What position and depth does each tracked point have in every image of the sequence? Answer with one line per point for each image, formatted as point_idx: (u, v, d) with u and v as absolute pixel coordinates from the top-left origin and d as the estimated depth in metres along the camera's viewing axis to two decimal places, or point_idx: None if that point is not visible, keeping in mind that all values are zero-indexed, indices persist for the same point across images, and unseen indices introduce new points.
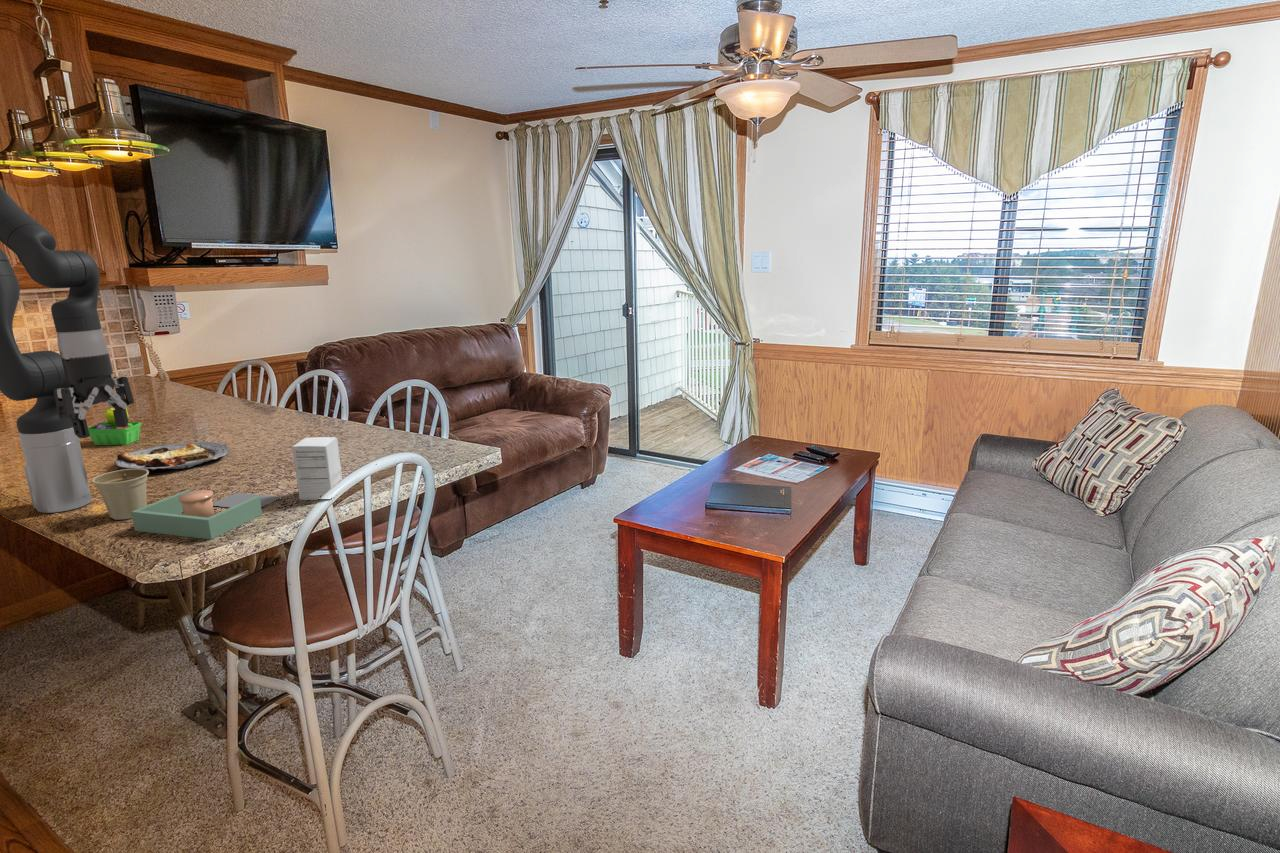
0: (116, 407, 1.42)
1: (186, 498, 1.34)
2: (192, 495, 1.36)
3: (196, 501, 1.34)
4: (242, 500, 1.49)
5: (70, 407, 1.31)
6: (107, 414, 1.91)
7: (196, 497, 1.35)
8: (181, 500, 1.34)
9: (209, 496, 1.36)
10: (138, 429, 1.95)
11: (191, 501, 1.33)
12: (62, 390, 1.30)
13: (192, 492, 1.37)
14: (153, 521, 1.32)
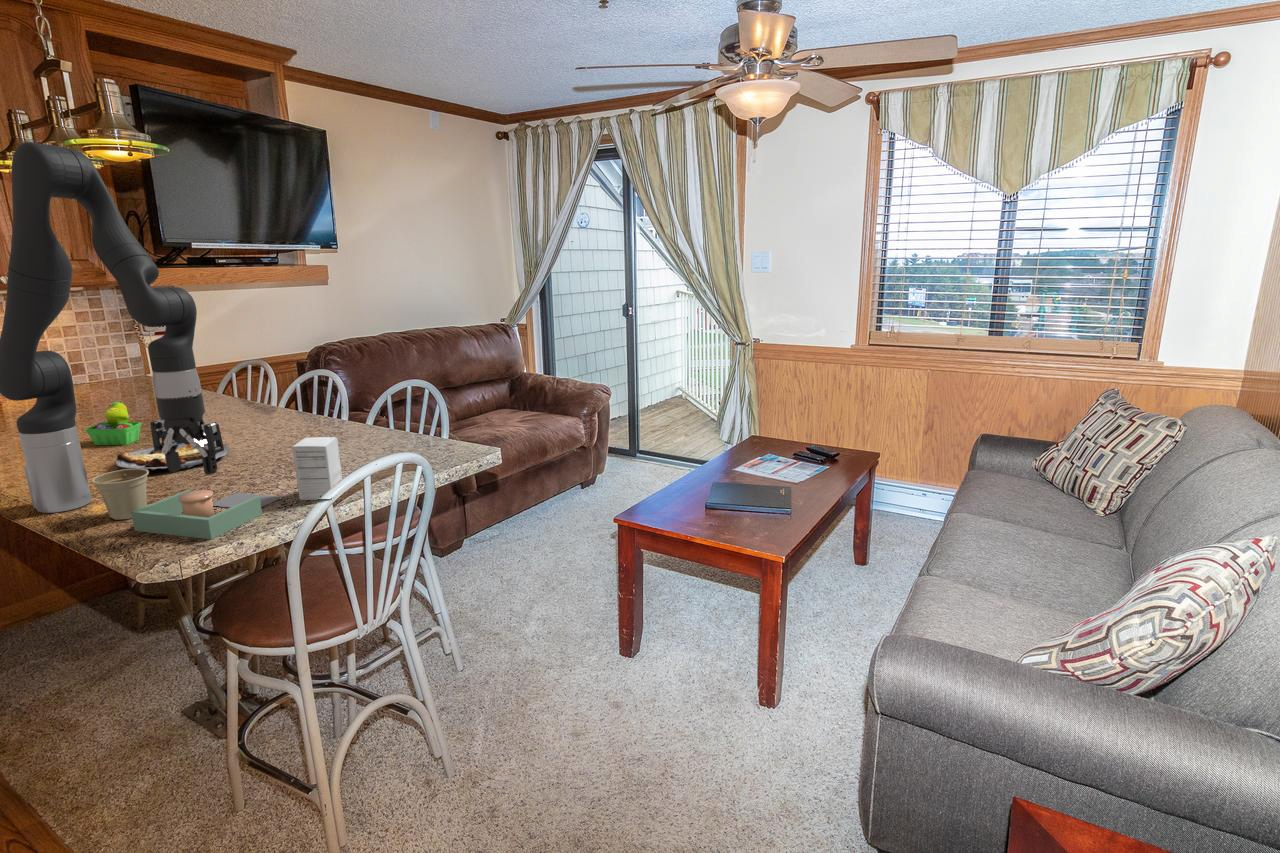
0: (171, 451, 1.34)
1: (186, 498, 1.34)
2: (192, 495, 1.36)
3: (196, 501, 1.34)
4: (242, 500, 1.49)
5: None
6: (107, 414, 1.91)
7: (196, 497, 1.35)
8: (181, 500, 1.34)
9: (209, 496, 1.36)
10: (138, 429, 1.95)
11: (191, 501, 1.33)
12: (216, 423, 1.32)
13: (192, 492, 1.37)
14: (153, 521, 1.32)
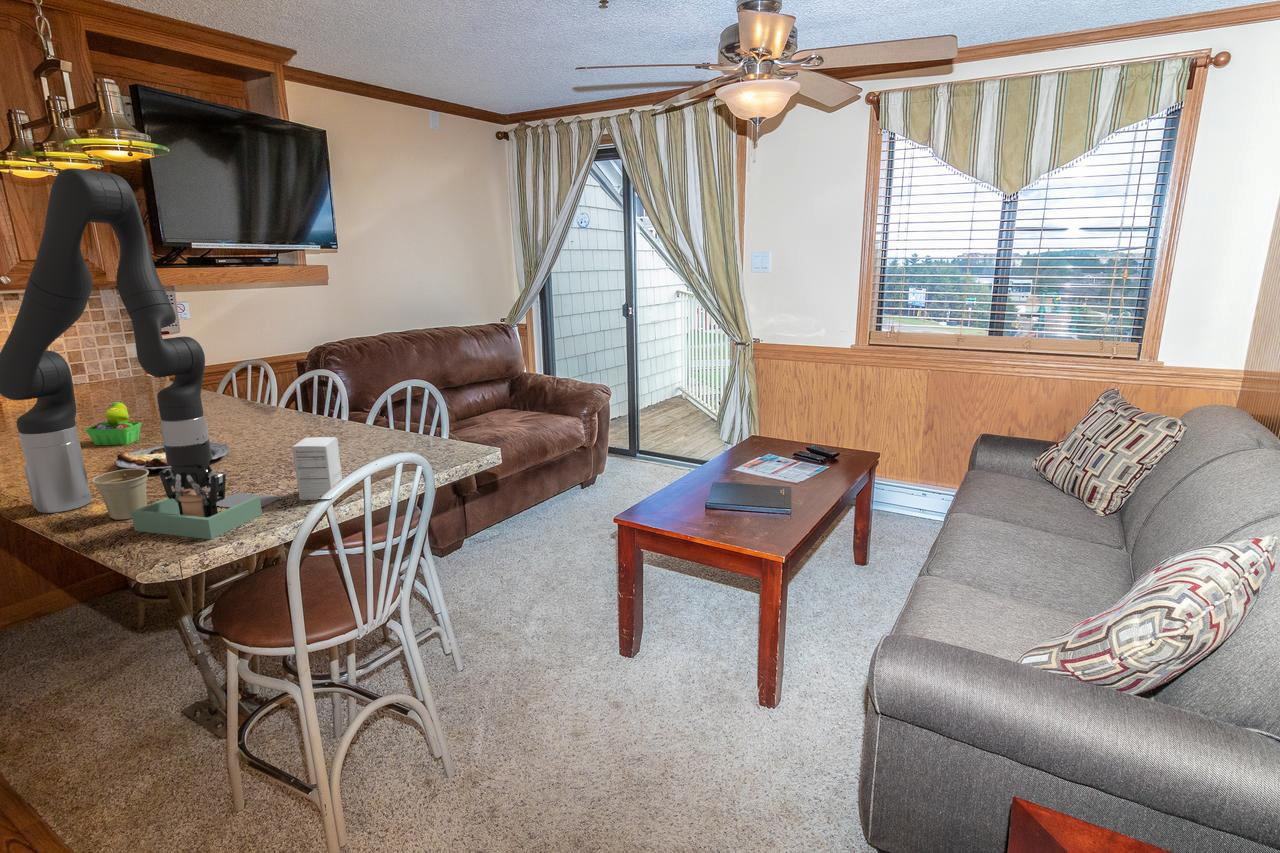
0: None
1: (186, 498, 1.34)
2: (192, 495, 1.36)
3: (196, 501, 1.34)
4: (242, 500, 1.49)
5: None
6: (107, 414, 1.91)
7: (196, 497, 1.35)
8: (181, 500, 1.34)
9: (209, 496, 1.36)
10: (138, 429, 1.95)
11: (191, 501, 1.33)
12: (224, 475, 1.34)
13: (192, 492, 1.37)
14: (153, 521, 1.32)
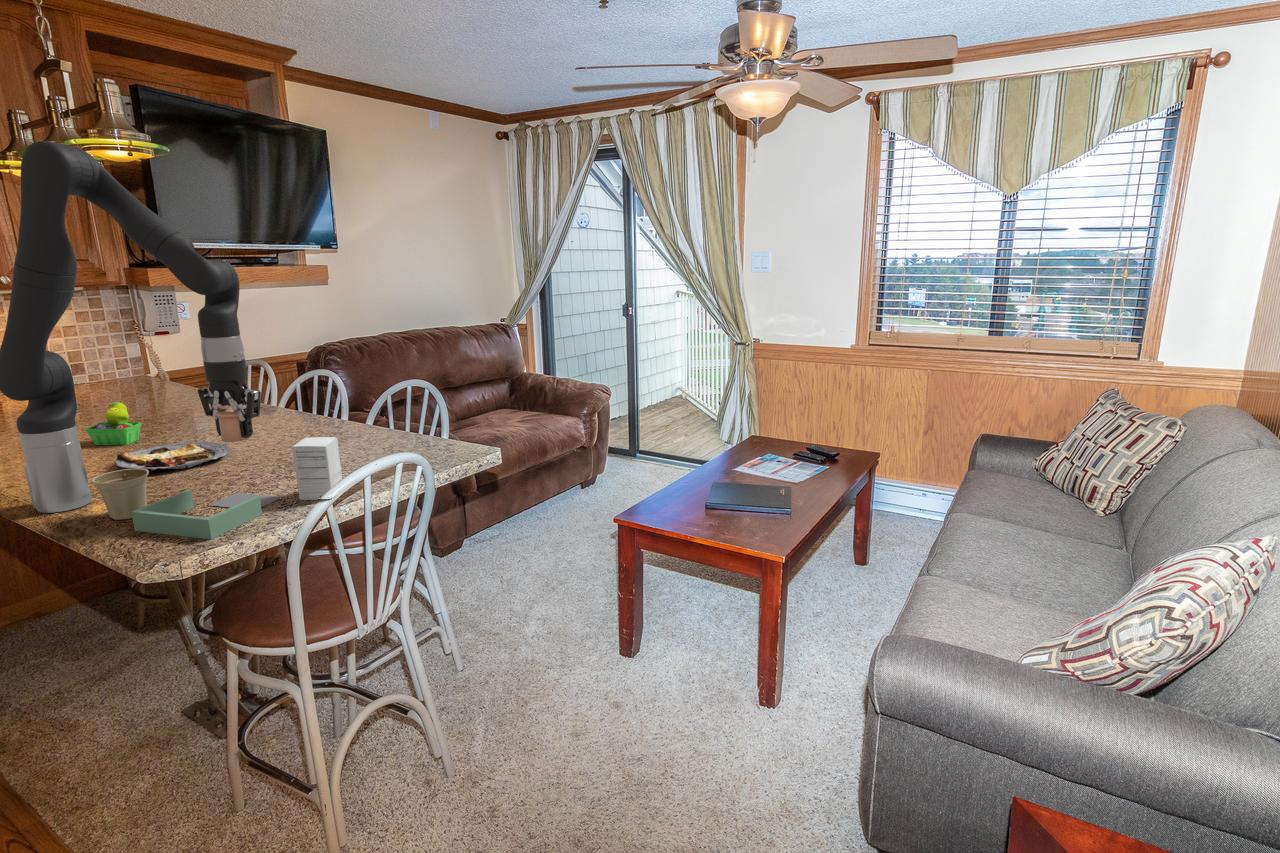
0: None
1: (223, 414, 1.41)
2: (228, 412, 1.43)
3: (233, 416, 1.42)
4: (242, 500, 1.49)
5: None
6: (107, 414, 1.91)
7: (233, 413, 1.42)
8: (219, 415, 1.41)
9: (244, 413, 1.43)
10: (138, 429, 1.95)
11: (228, 416, 1.41)
12: (259, 392, 1.42)
13: (228, 410, 1.45)
14: (153, 521, 1.32)
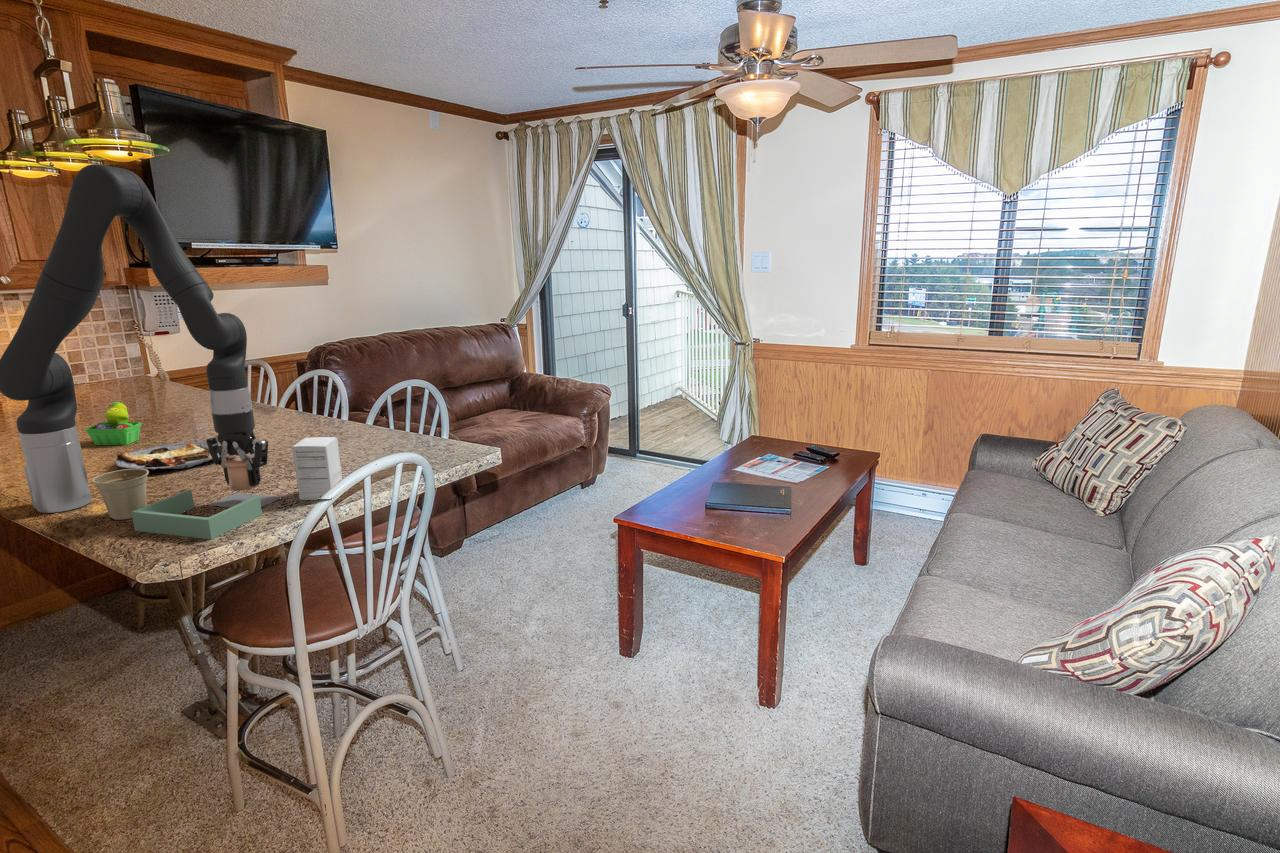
0: None
1: (232, 463, 1.44)
2: (236, 461, 1.46)
3: (241, 466, 1.44)
4: (242, 500, 1.49)
5: None
6: (107, 414, 1.91)
7: (241, 462, 1.45)
8: (227, 465, 1.44)
9: (252, 462, 1.46)
10: (138, 429, 1.95)
11: (236, 466, 1.44)
12: (267, 442, 1.45)
13: (236, 458, 1.48)
14: (153, 521, 1.32)
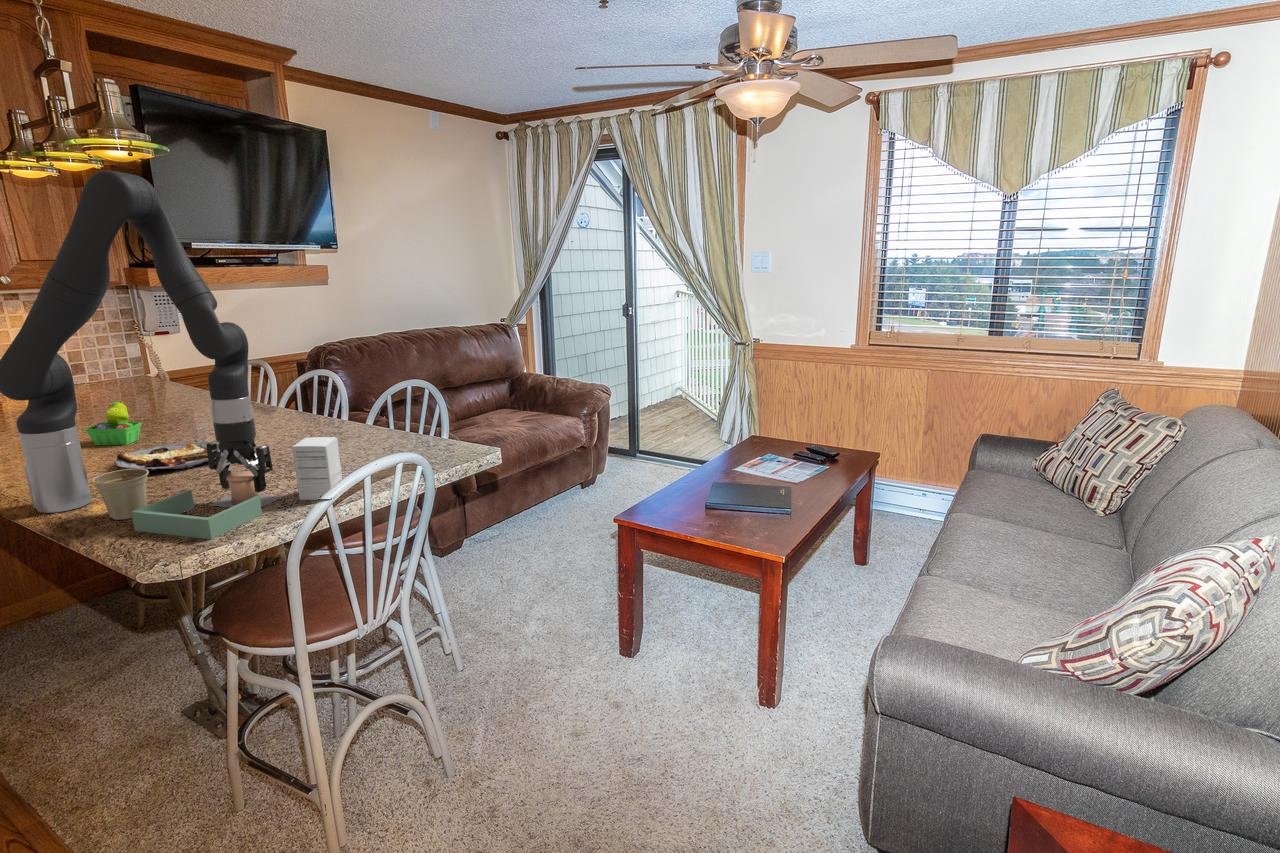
0: (224, 470, 1.48)
1: (233, 478, 1.45)
2: (238, 475, 1.47)
3: (243, 480, 1.45)
4: None
5: None
6: (107, 414, 1.91)
7: (242, 477, 1.46)
8: (229, 479, 1.45)
9: None
10: (138, 429, 1.95)
11: (238, 480, 1.45)
12: (267, 446, 1.45)
13: (238, 473, 1.49)
14: (153, 521, 1.32)
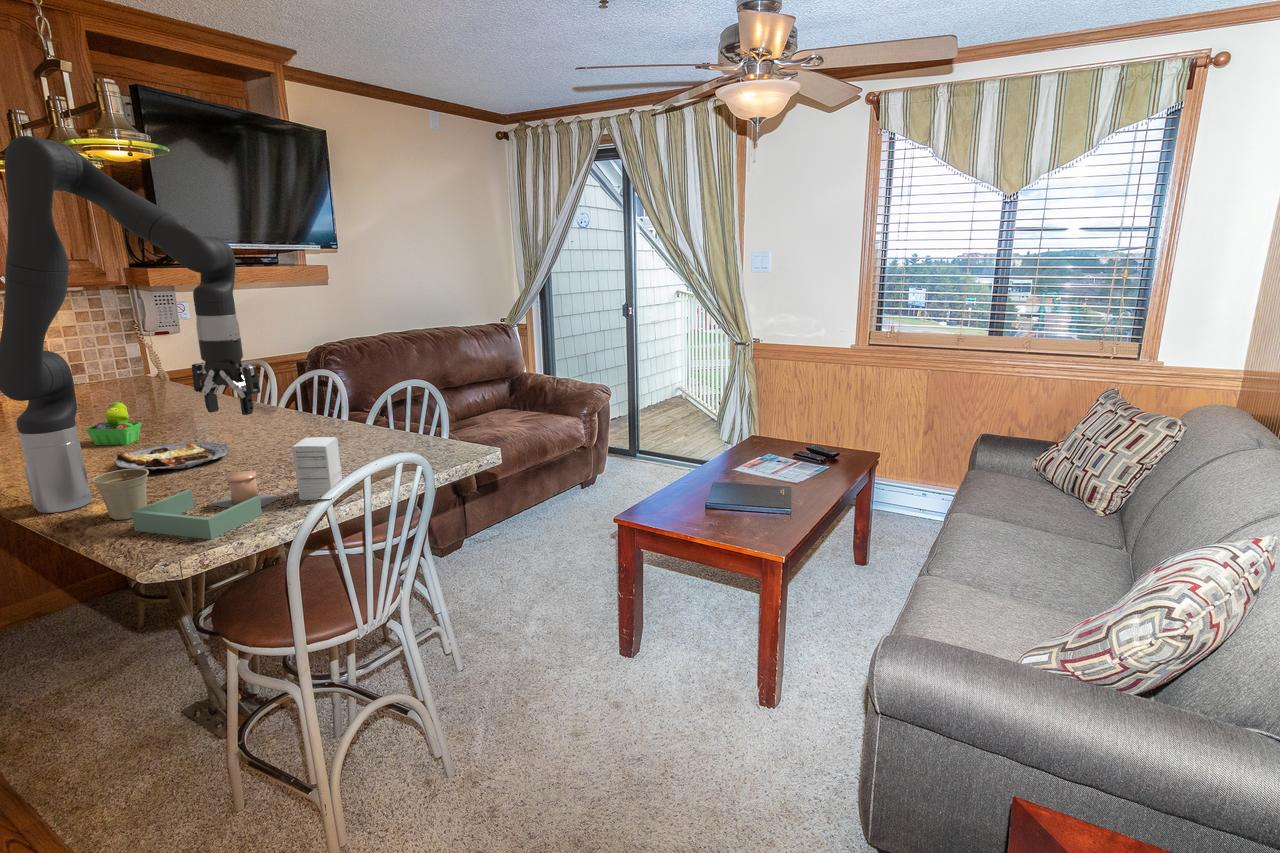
0: (210, 392, 1.43)
1: (233, 478, 1.45)
2: (238, 475, 1.47)
3: (242, 481, 1.45)
4: None
5: None
6: (107, 414, 1.91)
7: (242, 477, 1.46)
8: (228, 480, 1.45)
9: (253, 476, 1.47)
10: (138, 429, 1.95)
11: (237, 480, 1.45)
12: (254, 367, 1.41)
13: (237, 473, 1.49)
14: (153, 521, 1.32)
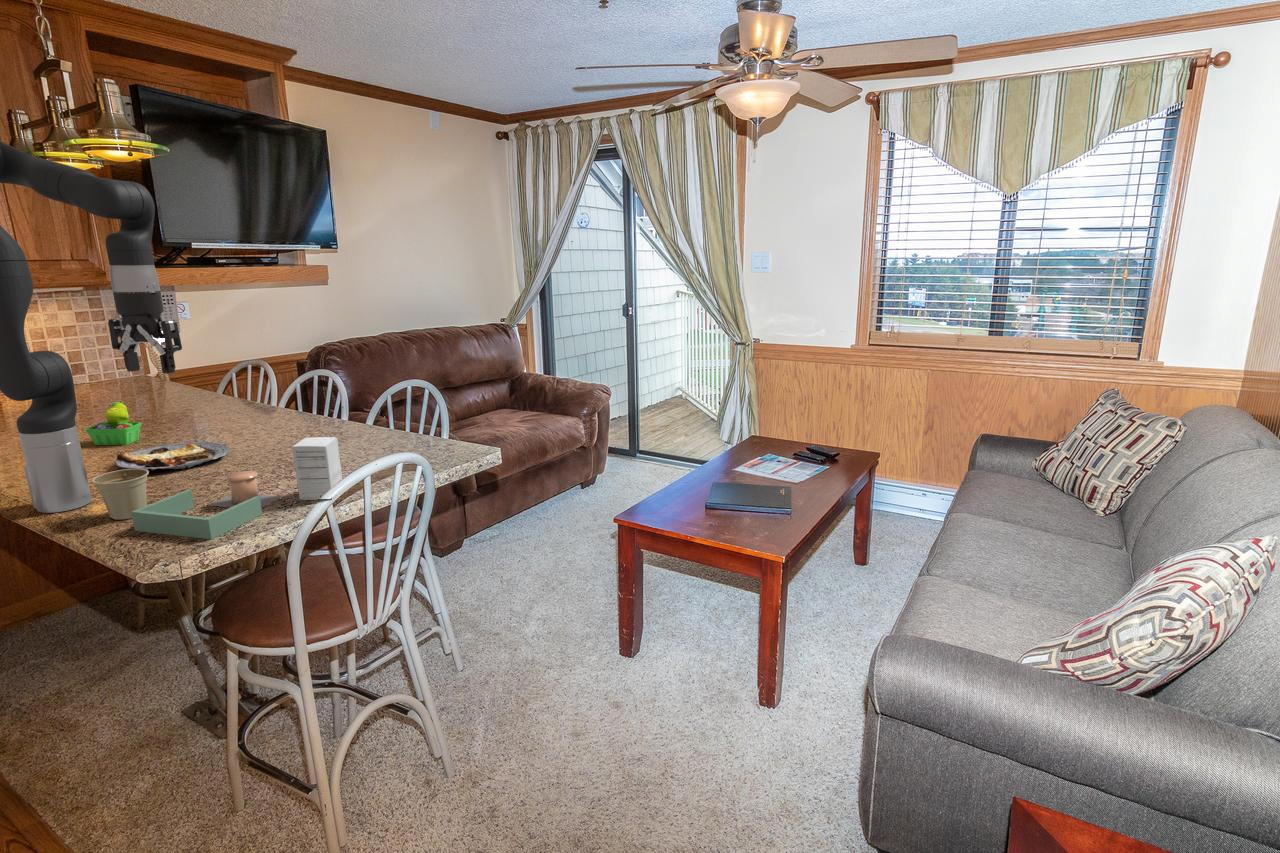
0: (129, 350, 1.34)
1: (233, 478, 1.45)
2: (239, 475, 1.47)
3: (242, 480, 1.45)
4: None
5: None
6: (107, 414, 1.91)
7: (242, 477, 1.46)
8: (229, 479, 1.45)
9: (254, 476, 1.47)
10: (138, 429, 1.95)
11: (238, 480, 1.45)
12: (174, 321, 1.32)
13: (239, 472, 1.49)
14: (153, 521, 1.32)
